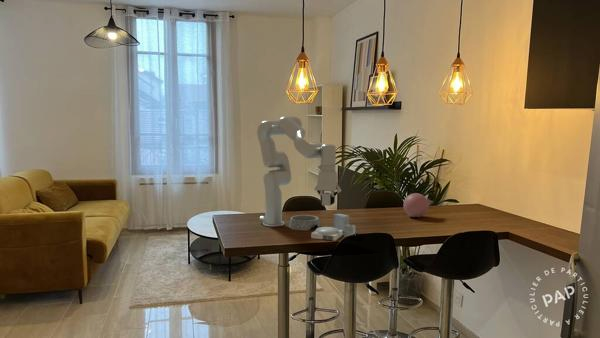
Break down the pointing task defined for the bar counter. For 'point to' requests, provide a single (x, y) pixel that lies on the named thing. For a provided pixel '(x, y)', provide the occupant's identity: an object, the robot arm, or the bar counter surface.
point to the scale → (327, 233)
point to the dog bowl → (303, 222)
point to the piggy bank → (416, 205)
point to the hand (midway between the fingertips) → (327, 203)
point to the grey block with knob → (326, 199)
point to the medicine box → (341, 221)
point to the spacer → (349, 230)
